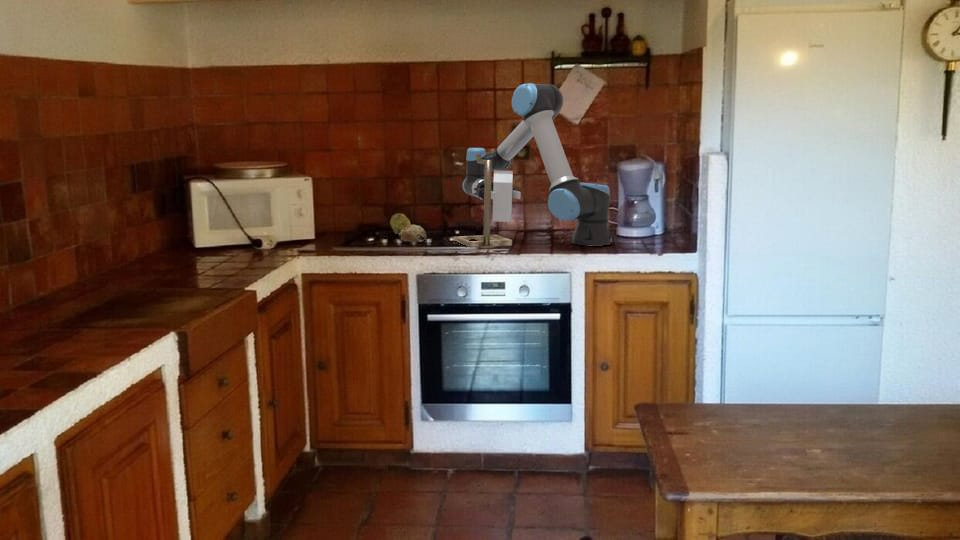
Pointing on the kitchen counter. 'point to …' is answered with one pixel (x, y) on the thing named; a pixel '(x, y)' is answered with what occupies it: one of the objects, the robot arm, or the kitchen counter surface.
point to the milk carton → (502, 196)
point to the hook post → (486, 201)
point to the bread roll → (412, 234)
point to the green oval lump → (399, 222)
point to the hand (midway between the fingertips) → (507, 195)
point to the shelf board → (494, 240)
